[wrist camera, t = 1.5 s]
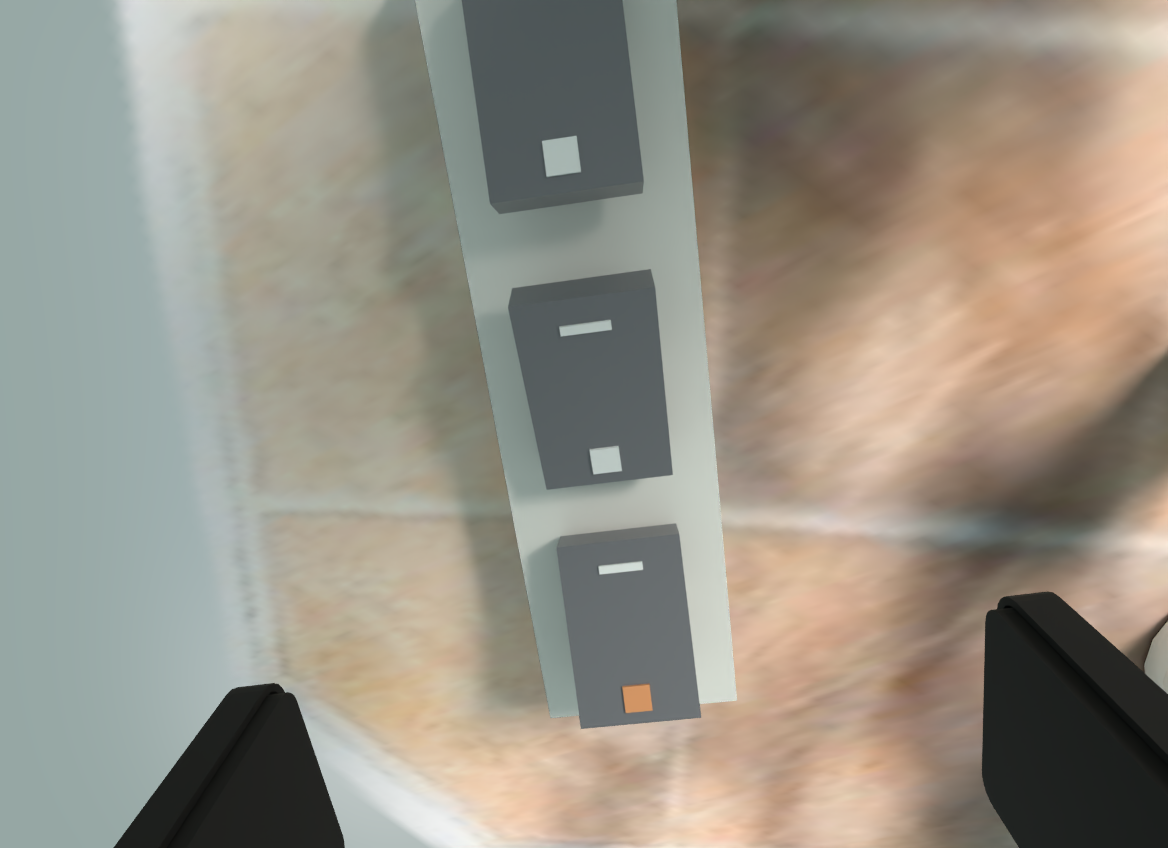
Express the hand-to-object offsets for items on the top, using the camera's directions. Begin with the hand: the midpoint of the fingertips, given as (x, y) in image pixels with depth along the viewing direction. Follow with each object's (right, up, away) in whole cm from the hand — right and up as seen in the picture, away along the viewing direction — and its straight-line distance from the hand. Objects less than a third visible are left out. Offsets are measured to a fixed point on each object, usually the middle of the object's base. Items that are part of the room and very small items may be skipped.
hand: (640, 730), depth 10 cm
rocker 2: (0, +5, +14) cm, 15 cm away
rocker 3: (+1, -4, +17) cm, 18 cm away
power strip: (-1, +10, +18) cm, 21 cm away
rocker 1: (-2, +14, +11) cm, 18 cm away
